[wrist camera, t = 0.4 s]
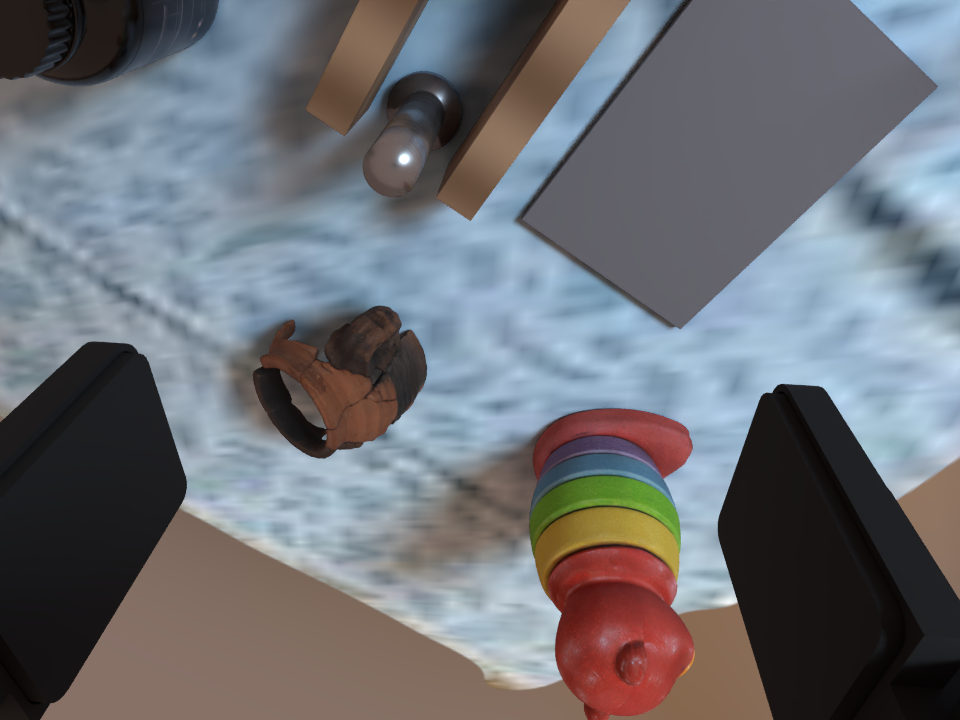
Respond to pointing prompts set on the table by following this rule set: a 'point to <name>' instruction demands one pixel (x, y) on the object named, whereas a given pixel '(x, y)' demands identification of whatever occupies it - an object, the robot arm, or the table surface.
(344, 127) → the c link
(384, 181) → the post
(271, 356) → the pottery mug
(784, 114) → the mat
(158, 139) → the table surface
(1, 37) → the supplement bottle
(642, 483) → the stacking bear
